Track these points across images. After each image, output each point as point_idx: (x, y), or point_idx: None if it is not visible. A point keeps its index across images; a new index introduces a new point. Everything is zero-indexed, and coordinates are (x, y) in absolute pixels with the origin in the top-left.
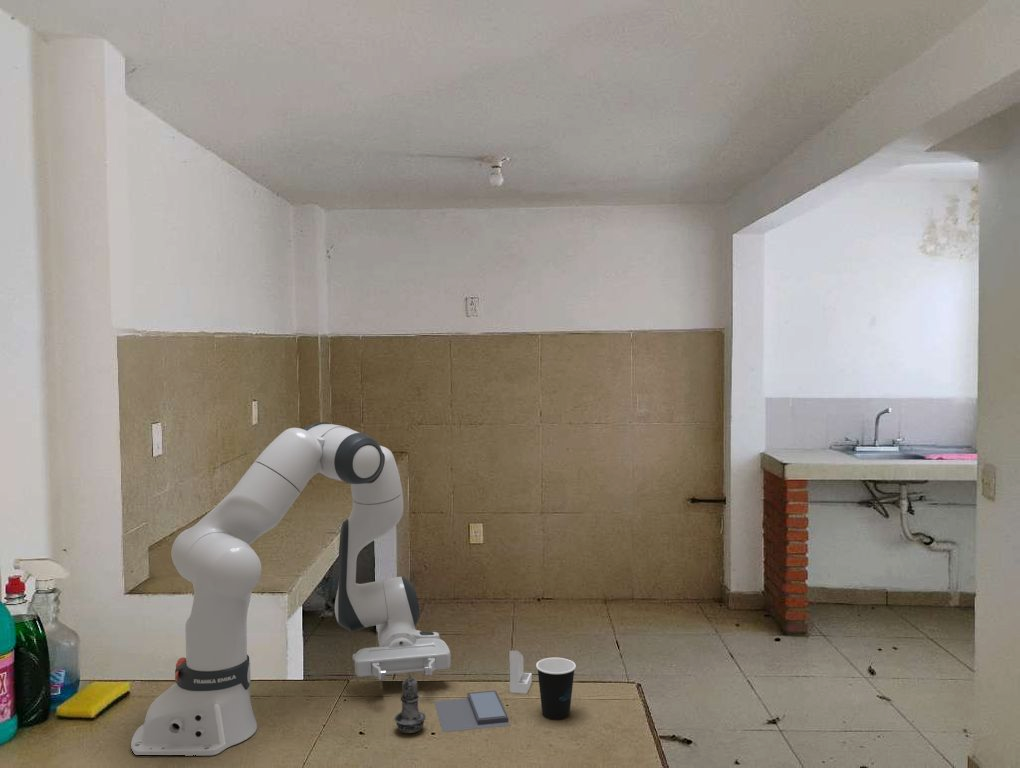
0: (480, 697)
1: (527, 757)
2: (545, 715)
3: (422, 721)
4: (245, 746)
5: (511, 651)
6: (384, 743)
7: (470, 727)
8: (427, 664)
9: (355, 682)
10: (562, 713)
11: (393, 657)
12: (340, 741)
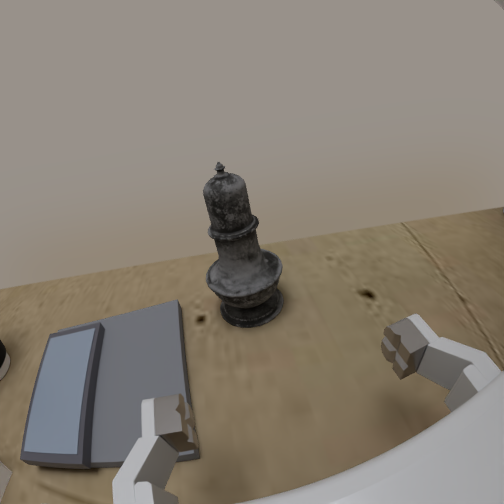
0: (58, 425)
1: (78, 278)
2: (4, 349)
3: (213, 264)
4: (499, 228)
5: None
6: (299, 273)
7: (121, 319)
8: (161, 431)
9: None
10: None
11: (417, 444)
12: (388, 263)
